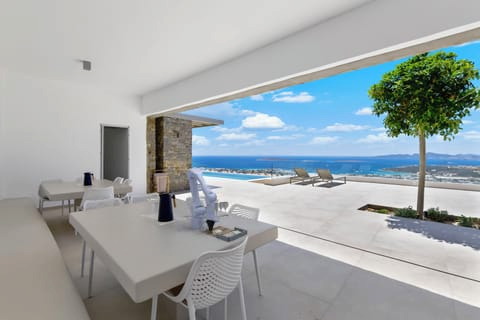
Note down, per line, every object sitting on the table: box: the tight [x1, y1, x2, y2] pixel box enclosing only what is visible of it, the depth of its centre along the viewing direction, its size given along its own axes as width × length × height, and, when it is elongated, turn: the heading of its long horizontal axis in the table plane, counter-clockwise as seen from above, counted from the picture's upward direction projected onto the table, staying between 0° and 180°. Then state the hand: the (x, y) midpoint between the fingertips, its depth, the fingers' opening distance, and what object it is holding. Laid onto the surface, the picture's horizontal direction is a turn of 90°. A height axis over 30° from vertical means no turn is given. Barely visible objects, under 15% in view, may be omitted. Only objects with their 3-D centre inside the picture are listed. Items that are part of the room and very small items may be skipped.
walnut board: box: [201, 225, 234, 238], centre depth 157 cm, size 15×18×1 cm
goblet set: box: [203, 201, 229, 224], centre depth 191 cm, size 28×6×13 cm, turn 144°
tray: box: [215, 226, 248, 243], centre depth 148 cm, size 11×18×4 cm, turn 139°
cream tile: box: [213, 230, 222, 235], centre depth 152 cm, size 4×4×2 cm
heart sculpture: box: [185, 196, 204, 220], centre depth 191 cm, size 16×5×18 cm, turn 60°
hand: (210, 230), depth 156 cm, fingers closed
